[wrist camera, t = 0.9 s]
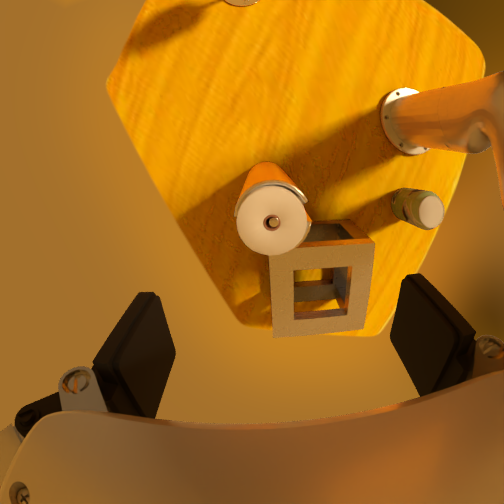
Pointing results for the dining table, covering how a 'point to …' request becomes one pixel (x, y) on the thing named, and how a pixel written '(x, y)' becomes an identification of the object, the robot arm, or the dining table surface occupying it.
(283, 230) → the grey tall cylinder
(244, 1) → the wineglass
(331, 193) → the dining table surface
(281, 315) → the collar stand
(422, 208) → the beverage can
